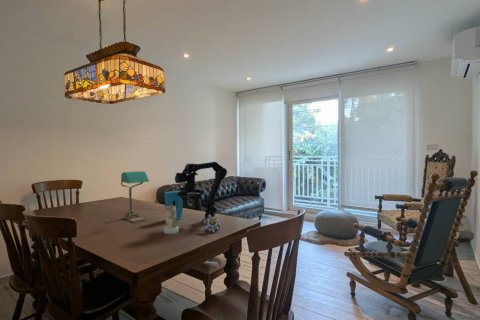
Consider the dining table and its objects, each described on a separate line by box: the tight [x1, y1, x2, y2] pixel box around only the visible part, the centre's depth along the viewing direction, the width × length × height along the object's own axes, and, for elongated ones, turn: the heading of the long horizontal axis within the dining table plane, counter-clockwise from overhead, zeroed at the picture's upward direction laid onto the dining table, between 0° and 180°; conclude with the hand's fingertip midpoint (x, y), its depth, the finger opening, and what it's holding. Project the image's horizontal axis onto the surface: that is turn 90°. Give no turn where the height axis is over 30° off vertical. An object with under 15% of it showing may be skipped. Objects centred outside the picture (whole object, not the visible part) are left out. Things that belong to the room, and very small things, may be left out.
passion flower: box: [201, 215, 222, 233], centre depth 168 cm, size 11×11×12 cm
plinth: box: [163, 225, 180, 235], centre depth 166 cm, size 9×9×3 cm
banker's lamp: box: [120, 170, 150, 224], centre depth 196 cm, size 16×21×35 cm
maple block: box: [164, 205, 177, 229], centre depth 166 cm, size 5×5×13 cm
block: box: [164, 190, 184, 221], centre depth 195 cm, size 12×5×20 cm, turn 124°
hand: (191, 205), depth 182 cm, fingers open, 9 cm apart
